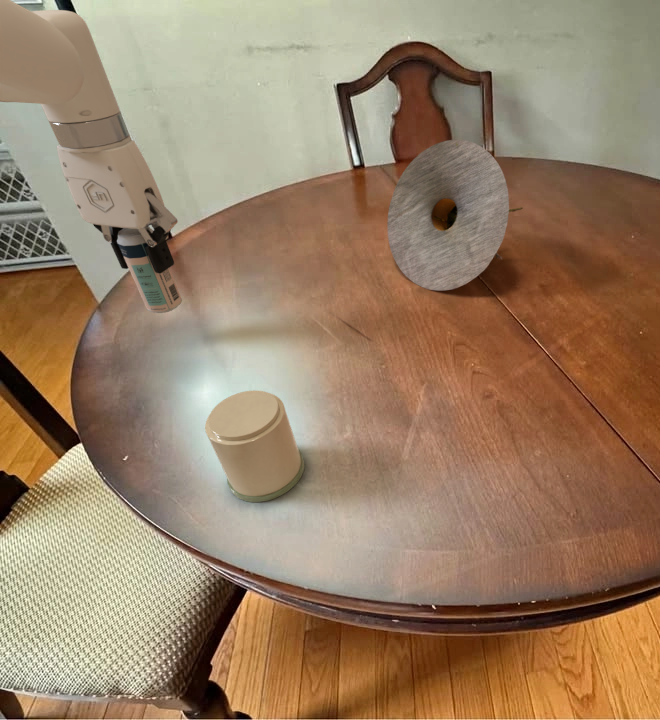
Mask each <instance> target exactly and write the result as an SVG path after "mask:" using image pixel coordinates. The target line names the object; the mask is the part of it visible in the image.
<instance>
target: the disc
mask: <svg viewBox="0 0 660 720" xmlns="http://www.w3.org/2000/svg"><path fill="white" fill-rule="evenodd" d="M509 197H510V196H509V189H508V184H507V181H506V177H505V174H504V172H503V170H502V168H501V166H500V165H499V163H498V161H497V160H496V159H495V157H494V156H493V155H492V154H491V153H490V152H489V151H487V149H485V148H484V147H482V146H481V145H479V144H477V143H475V142H472V141H470V140H464V139H450V140H449V139H448V140H444V141H440V142H438V143H436V144H435V143H434V144H433V145H431V146H429V147H428V148H426V149H424V150H423V151H421V152H420V153H419V154H418V155H416V157H414V158H413V159H412V161H410V163H408V165H407V166H406V168H405V169H404V170H403V172H402V174H401V175H400V177H399V179H398V181H397V183H396V185H395V187H394V190H393V192H392V197H391V199H390V201H389V202H390V203H389V207H388V213H387V238H388V239H387V240H388V244H389V249H390V252H391V255H392V258H393V260H394V261H395V263H396V265H397V266H398V268H399V270H400V271H401V272H402V274H403V275H404V276H405V277H406V278H407V279H408V280H409V281H411V282H412V283H413V284H416V286H419V287H421V288H423V289H426V290H431V291H439V292H441V291H450V290H455V289H458V288H460V287H462V286H464V285H467V284H468V283H469V282H471V281H473V280H474V279H476V278H477V277H478V276H479V275H480V274H482V273H483V272H484V271H485V270H486V269H487V268H488V266H489V265H490V263H491V262H492V260H493V258H495V259H499V260H504V258H503V256H501V255H500V254H499V253H498V251H499V249H500V247H501V245H502V243H503V240H504V238H505V234H506V231H507V227H508V221H509V213H514V212H517V211H520V210H523V209H524V208H523V207H521V206H520V207H518V208H511V209H510V198H509Z"/></svg>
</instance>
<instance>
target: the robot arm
mask: <svg viewBox="0 0 660 720" xmlns="http://www.w3.org/2000/svg"><path fill="white" fill-rule="evenodd" d="M0 103H23V104H39V105H40V106H41V108H42V111H43V112H44V114H45V117H46V119H47V121H48V123H49V126H50V128H51V130H52V132H53V134H54V136H55V139H56V141H57V143H58V145H56V150H57V156H58V160H59V164H60V167H61V171H62V174H63V176H64V179H65V182H66V185H67V188H68V190H69V193H70V195H71V197H72V200H73V202H74V204H75V206H76V209H77V211H78V213H79V215H80V217H81V218H82V220H84V222H87V223H89V224H92V226H93V227H94V228H95V229H97V230H98V231H99V232H100V233H102V236H103V239H104V240H105V241H106V242H107V243H110V246H111V248H112V250H113V253H114V255H115V257H116V259H117V261H118V263H119V266H120V268H121V269H123V270H129V268H128V266H127V263H126V261H125V259H124V257H123V254H122V252H121V250H120V248H119V245H118V243H117V240H118V232H119V231H120V230H122V229H124V228H130V229H138V230H139V232H140V233H141V235H142V237H143V238H144V240H145V241H146V243H147V244H148V246H147V247H145V249H146V252H147V254H148V257H149V259H150V261H151V264H152V266H153V269H154V271H155V272H156V273H162V272H164V271H165V270H167V269H168V268H171V267H172V266H174V265H175V260H174V258H173V255H172V253H171V250H170V247H169V245H168V242H167V240H168V239H169V234H170V232H171V231H172V230H173V228H174V227H175V226H176V225H177V224H178V222H179V221H178V218H177V217H176V216H175V215H174V214H173V213H172V212H171V211H170V210H169V209H168V208H167V207H166V206H165V203H164V200H163V196H162V194H161V192H160V189H159V187H158V184H157V182H156V180H155V178H154V175H153V173H152V171H151V170H150V167H149V165H148V163H147V161H146V159H145V157H144V155H143V153H142V152H141V150H140V148H139V147H138V145H137V144H136V142H135V140H132V138H131V135H130V133H129V129H128V127H127V124H126V122H125V120H124V117H123V114H122V112H121V109H120V107H119V103H118V101H117V98H116V96H115V94H114V91H113V89H112V85H111V84H110V81H109V77H108V75H107V72H106V70H105V67H104V65H103V62H102V59H101V57H100V53H99V52H98V49H97V47H96V43H95V41H94V38H93V36H92V33H91V31H90V28H89V26H88V24H87V23H86V21H85V20H84V18H83V17H81V15H80V14H78V13H76V12H74V11H70V10H65V9H46V10H45V9H44V10H43V9H42V10H29V9H27V8H26V7H24V6H23V5H22V6H21V5H19V4H18V3H17V2H14V1H13V0H0ZM148 226H149V227H150V226H151V227H152V230H153V233H151V232H150V230H149V229H148Z"/></svg>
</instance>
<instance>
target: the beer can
mask: <svg viewBox="0 0 660 720" xmlns="http://www.w3.org/2000/svg"><path fill="white" fill-rule="evenodd" d="M148 229H149V230H150V232H151V233H153V231H154V229H153V228H151V227H150V225H149V226H148ZM117 243H118V245H119V248H120V250H121V252H122V254H123V257H124V259H125V261H126V263H127V266H128V270H129V272H130V274H131V277H132V279H133V281H134V283H135V286H136V288H137V290H138V292H139V295H140V297H141V299H142V302H143V304H144V306H145V308H146V310H147V311H148V312H150V313H156V314H164V313H165V314H166V313H169V312H172V311H174V310H176V309H177V308H178V307H179V306H180V305H181V304H182V302H183V299H182V296H181V294H180V292H179V289H178V286H177V284H176V281H175V278H174V276H173V273H172V271H171V269H170V268H171V267H170V268H168V269H167V270H165V271H164V272H162V273H156V272H155V271H154V269H153V266H152V264H151V261H150V259H149V257H148V254H147V252H146V249H145V247H147V246H148V244H147V243H146V241H145V240H144V238H143V237H142V235H141V233H140V232H139V230H138V229H130V228H124V229H122V230H120V231H119V232H118V240H117Z"/></svg>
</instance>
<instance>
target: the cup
mask: <svg viewBox="0 0 660 720" xmlns="http://www.w3.org/2000/svg"><path fill="white" fill-rule="evenodd" d="M288 416H289V415H288V413H287V410H286V407H285V404H284V402H283V400H281V399H280V397H279V396H277V395H275V394H273V393H271V392H267V391H264V390H255V389H254V390H245V391H241V392H238V393H235V394H232V395H230V396H228V397H226V398H224V399H223V400H221V401H220V402H219V403H218V404H216V405H215V407H214V408H213V409H212V410H211V411H210V413H209V414H208V416H207V419H206V421H205V425H204V430H205V433H206V436H207V438H208V441H209V443H210V444H211V446H212V449H213V451H214V453H215V455H216V457H217V460H218V462H219V464H220V466H221V468H222V470H223V473H224V474H225V476H226V482H227V486H228V487H229V490H230V492H231V493H232V494H233V496H235V498H238V499H239V500H241V501H245V502H249V503H261V502H262V503H263V502H267V501H271V500H274V499H276V498H279V497H281V496H283V495H285V494H286V493H288V492H289V491H290V490H292V489H293V487H295V486H296V485H297V484H298V482H299V481H300V480H301V478H302V476H303V474H304V471H305V460H304V457H303V454H302V452H301V450H300V449H299V446H298V444H297V440H296V438H295V435H294V432H293V428H292V425H291V422H290V420H289V417H288Z"/></svg>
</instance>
